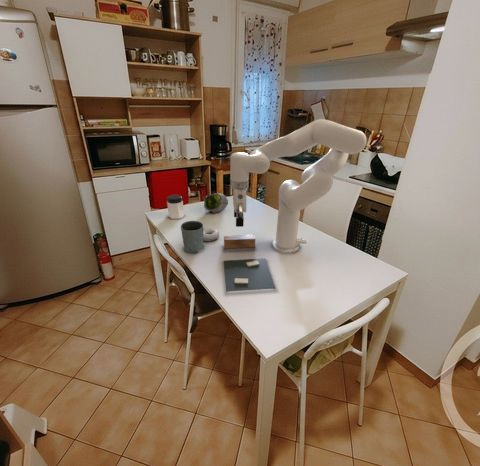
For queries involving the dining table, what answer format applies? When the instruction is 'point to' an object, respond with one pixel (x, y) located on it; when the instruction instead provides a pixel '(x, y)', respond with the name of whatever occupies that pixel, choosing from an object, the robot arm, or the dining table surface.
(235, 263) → the slate board
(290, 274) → the dining table surface
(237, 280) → the chalk mark
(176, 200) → the jar
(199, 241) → the gray cup
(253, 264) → the chalk mark
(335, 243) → the dining table surface
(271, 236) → the dining table surface
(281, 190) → the robot arm
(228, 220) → the dining table surface
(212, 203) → the potted plant
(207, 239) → the donut
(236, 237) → the eraser
